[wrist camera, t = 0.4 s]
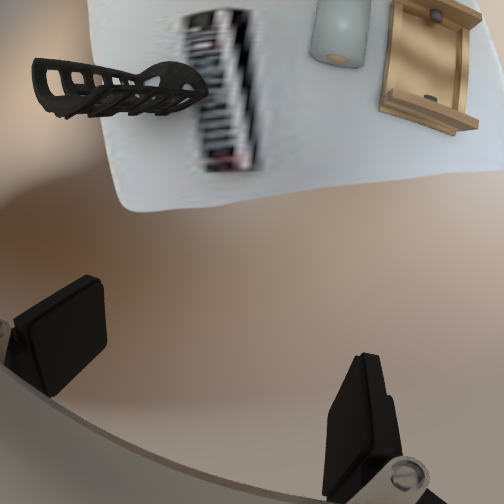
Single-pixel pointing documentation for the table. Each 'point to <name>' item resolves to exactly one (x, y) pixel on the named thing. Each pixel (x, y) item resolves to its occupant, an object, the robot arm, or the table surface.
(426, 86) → the cradle
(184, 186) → the table surface
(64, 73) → the holder
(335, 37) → the roll
